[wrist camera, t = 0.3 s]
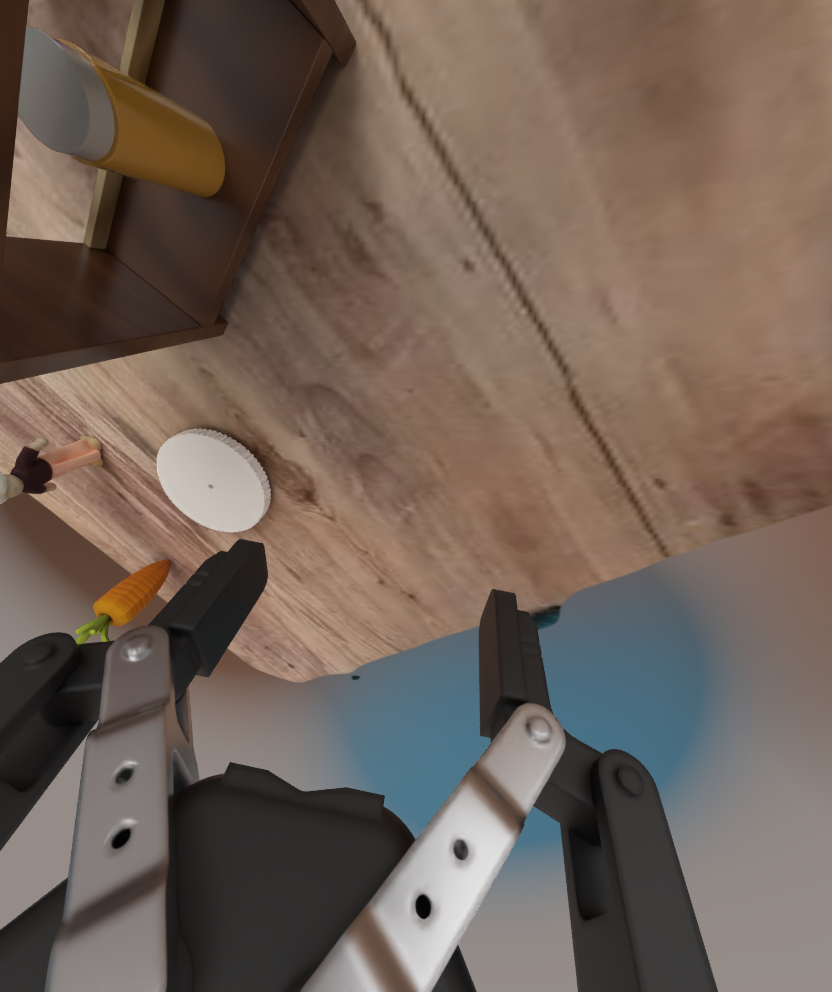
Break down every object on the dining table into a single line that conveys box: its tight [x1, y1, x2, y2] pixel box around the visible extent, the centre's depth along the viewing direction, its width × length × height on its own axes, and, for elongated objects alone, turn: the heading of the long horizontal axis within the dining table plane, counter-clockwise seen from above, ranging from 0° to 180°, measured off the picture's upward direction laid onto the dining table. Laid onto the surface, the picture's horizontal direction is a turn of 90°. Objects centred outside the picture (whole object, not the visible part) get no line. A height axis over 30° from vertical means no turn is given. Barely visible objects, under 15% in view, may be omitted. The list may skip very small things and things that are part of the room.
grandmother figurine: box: [0, 435, 103, 504], centre depth 42 cm, size 8×4×13 cm, turn 167°
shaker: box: [18, 26, 225, 198], centre depth 23 cm, size 5×5×11 cm
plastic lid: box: [156, 428, 271, 533], centre depth 46 cm, size 14×14×2 cm
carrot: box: [76, 560, 171, 644], centre depth 51 cm, size 5×5×15 cm
